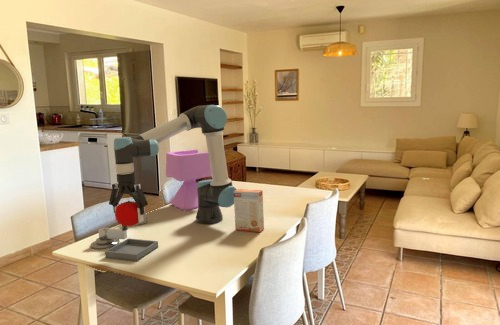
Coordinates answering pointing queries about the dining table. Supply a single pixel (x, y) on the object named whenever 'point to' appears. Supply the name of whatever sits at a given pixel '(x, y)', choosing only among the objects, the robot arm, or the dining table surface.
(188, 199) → the pink table lamp
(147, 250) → the tray
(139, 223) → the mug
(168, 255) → the dining table surface
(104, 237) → the crank
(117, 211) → the tomato
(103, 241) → the crank base
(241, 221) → the cracker box
